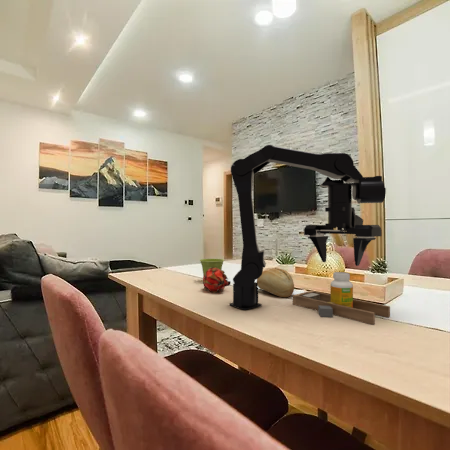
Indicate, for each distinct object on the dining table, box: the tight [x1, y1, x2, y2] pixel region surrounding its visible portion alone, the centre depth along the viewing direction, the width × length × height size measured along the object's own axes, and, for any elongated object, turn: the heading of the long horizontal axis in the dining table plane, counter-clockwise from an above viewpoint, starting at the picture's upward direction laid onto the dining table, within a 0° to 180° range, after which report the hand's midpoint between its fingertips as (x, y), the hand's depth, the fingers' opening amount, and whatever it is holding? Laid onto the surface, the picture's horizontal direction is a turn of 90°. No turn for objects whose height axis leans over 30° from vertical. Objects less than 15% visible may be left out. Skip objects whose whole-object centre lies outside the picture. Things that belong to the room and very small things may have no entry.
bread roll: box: [256, 267, 295, 298], centre depth 96 cm, size 10×15×8 cm, turn 30°
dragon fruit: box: [202, 267, 232, 294], centre depth 100 cm, size 8×8×12 cm
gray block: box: [317, 305, 334, 318], centre depth 73 cm, size 3×3×2 cm
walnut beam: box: [292, 290, 391, 326], centre depth 77 cm, size 9×22×3 cm, turn 39°
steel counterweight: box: [302, 293, 320, 300], centre depth 83 cm, size 5×2×2 cm, turn 129°
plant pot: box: [199, 258, 225, 275], centre depth 115 cm, size 9×9×9 cm
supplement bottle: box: [329, 271, 354, 308], centre depth 76 cm, size 5×5×10 cm
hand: (340, 263), depth 77 cm, fingers open, 9 cm apart
